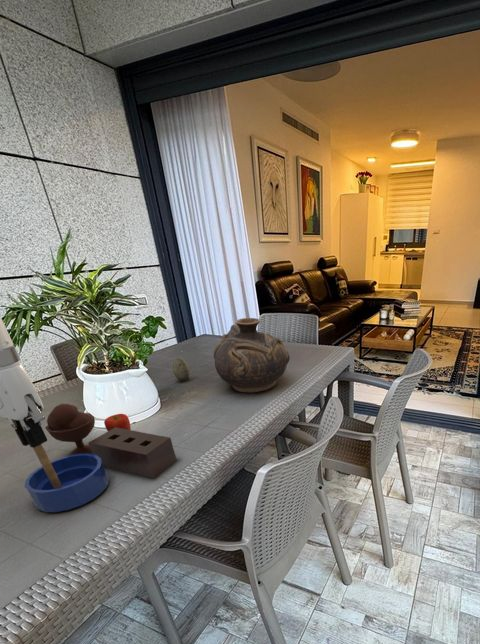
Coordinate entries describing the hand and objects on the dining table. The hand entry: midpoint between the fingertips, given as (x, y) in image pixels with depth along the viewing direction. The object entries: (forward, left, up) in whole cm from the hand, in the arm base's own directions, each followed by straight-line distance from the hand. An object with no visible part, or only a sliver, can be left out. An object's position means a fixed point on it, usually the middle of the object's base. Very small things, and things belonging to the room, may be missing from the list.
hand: (35, 442), depth 74 cm
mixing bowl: (+2, +2, -14) cm, 15 cm away
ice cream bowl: (-12, +15, -15) cm, 25 cm away
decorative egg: (-21, +68, -15) cm, 73 cm away
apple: (-7, +24, -15) cm, 29 cm away
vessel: (+10, +72, -15) cm, 74 cm away
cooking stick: (0, 0, -13) cm, 13 cm away
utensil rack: (+7, +16, -14) cm, 22 cm away
